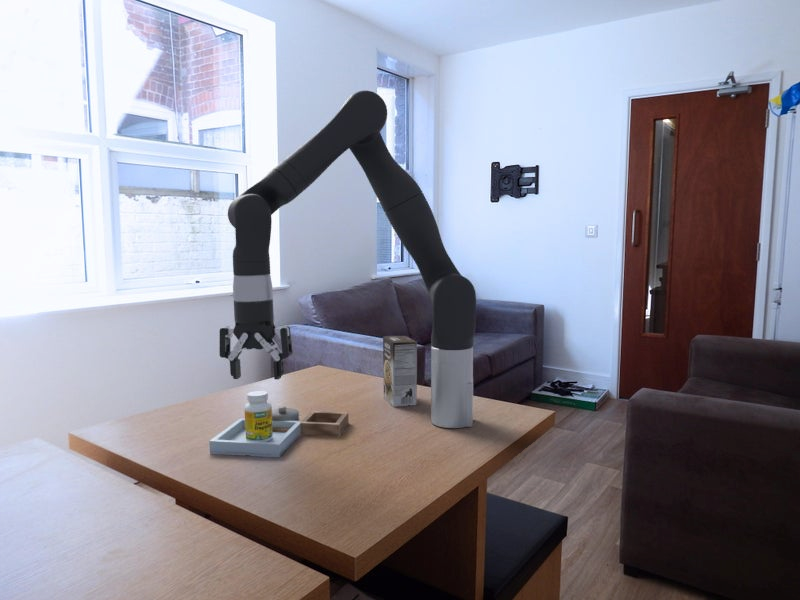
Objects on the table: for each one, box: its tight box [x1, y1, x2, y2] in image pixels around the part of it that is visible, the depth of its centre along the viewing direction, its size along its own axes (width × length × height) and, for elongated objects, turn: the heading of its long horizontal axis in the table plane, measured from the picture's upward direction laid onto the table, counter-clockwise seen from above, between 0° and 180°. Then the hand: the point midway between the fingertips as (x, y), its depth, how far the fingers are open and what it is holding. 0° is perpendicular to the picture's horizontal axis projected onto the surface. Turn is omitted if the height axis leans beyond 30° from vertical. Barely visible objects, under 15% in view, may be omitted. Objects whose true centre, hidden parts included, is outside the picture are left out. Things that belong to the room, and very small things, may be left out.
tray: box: [209, 418, 301, 458], centre depth 116 cm, size 14×14×2 cm
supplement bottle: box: [244, 390, 273, 442], centre depth 116 cm, size 5×5×10 cm
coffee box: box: [382, 335, 418, 408], centre depth 145 cm, size 9×6×16 cm
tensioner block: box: [272, 405, 350, 437], centre depth 125 cm, size 19×10×4 cm, turn 82°
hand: (257, 378), depth 115 cm, fingers open, 8 cm apart
